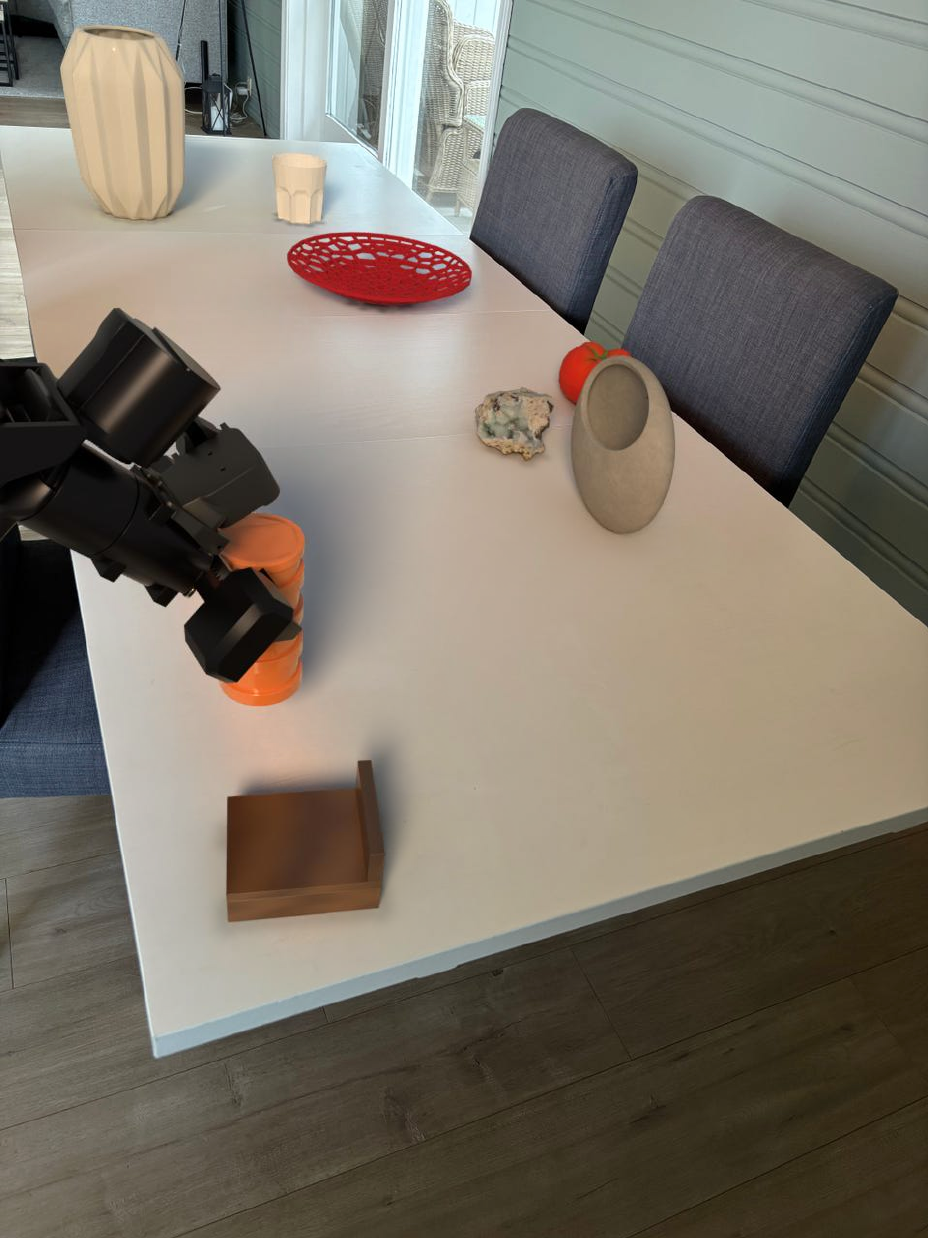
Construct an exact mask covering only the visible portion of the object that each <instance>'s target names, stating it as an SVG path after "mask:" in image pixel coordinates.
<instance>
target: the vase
mask: <svg viewBox="0 0 928 1238" xmlns="http://www.w3.org/2000/svg"><path fill="white" fill-rule="evenodd" d="M59 69H60V70H59V71H60V77H61V83H62V89H63V95H64V96H63V97H64V102H65V108H66V112H67V117H68V122H69V127H70V132H71V137H72V142H73V147H74V148H73V149H74V152H75V157H76V161H77V166H78V169H79V175H80V179H81V181H82V183H83V184H84V186H85V187H86V188H87V190H88V191H89V193H90V194H91V196H92V197H93V199H94V200H95V201H96V203H97V205H98V206H99V207H100V208H101V209H102V211H103V212H104V213H105V214H109V215H113V216H114V217H115V218H119V219H127V220H131V221H138V220H139V221H141V220H144V221H153V220H156V219H162V218H166V217H167V216H168V214H172V213H173V211H174V208H175V207H176V205H177V202H178V200H179V197H180V195H181V193H182V191H183V185H184V183H185V176H186V167H185V166H186V96H185V77H184V73H183V71H182V69H181V67H180V65H179V63H178V61H177V59H176V58H175V56H174V54H173V52H172V51H171V49H170V47H169V45H168V43H167V42H166V40H165V39H164V38H163V37H162V36H161V35H160V34H159V33H158V32H153V31H149V30H146V29H144V28H137V27H135V28H134V27H129V26H126V25H111V24H97V25H92V24H86V25H82V26H78V27H75V28H74V29H73V31H72V33H71V36H70V39H69V41H68V44H67V47H66V49H65V52H64V55H63V57H62V60H61V64H60V67H59Z"/></svg>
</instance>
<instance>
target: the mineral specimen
mask: <svg viewBox="0 0 928 1238" xmlns="http://www.w3.org/2000/svg"><path fill="white" fill-rule="evenodd" d="M555 407H556V403H555V398H554V396H552V395H550V394H547V393H538V392H536V391H533V390H531V389H529V388H527V387H523V386H521V387H520V388H517V389H511V390H498V391H495V392H491V393H488V394H486V395H485V397H484V400H483V403H480V404H479V405H478V406H477V407H476V408H475V409H474V413H475V414H476V415H475V417H474V420H475V421H476V429H477V430H476V433H477V435H478V437H479V438H480V441H481V442H482V443H483V444H484V445H486V446H487V447H493V448H494V449H497V450H499V452H501V453H502V454H503V455H507V454H512V453H513V452H516V453H521V454H522V457H523V459H524V461H530V459H532V457H533V456H534V455H535V454H541V453H544V451H545V450H546V445H545V443H544V442H543V439H542V438H543V433H544V432H545V431H546V430H547V429H548V428H550V426H551V419H550V416H551V414H552V412H553V411H554V408H555Z"/></svg>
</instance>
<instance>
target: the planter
mask: <svg viewBox="0 0 928 1238" xmlns="http://www.w3.org/2000/svg"><path fill="white" fill-rule="evenodd" d="M574 409H575V410H574V412H573V418H572V423H571V436H570V457H571V465H572V471H573V475H574V480H575V483H576V486H577V489H578V493H579V495H580V496H581V499H582V501H583V503H584V505H585V507H586V509H587V510H588V511H589V513H590V515H592V517H593V518H594V519H595V520H596V521H597V522H598V523H599V524H600V525H601V526H603V527H604V528H605V529H608V530H609V531H610V532H614V533H618V534H623V535H625V534H633V533H636V532H639V531H641V530H642V529H644V528H646V527H647V526H648V525H650V524H651V523H652V521H653V520H654V519H655V518H656V517H657V515H658V514H659V512H660V510H661V509H662V507H663V505H664V502H665V501H666V499H667V496H668V493H669V490H670V486H671V484H672V479H673V473H674V468H675V458H676V436H675V435H676V433H675V423H674V418H673V414H672V409H671V406H670V402H669V399H668V397H667V394H666V392H665V390H664V388H663V386H662V384H661V381H660V380H659V379H658V378H657V376H656V375H655V374H654V372H653V371H652V370H651V369H650V368H649V367H648V366H647V365H646V364H644V363H643V362H642V361H640V360H639V359H636V358H635V357H632V356H631V357H629V356H624V355H616V356H611V357H608V358H606V359H604V360H603V361H601V362H600V363H598V364H597V365H596V366H595V367H594V368H593V369H592V371H591V372H590V374H589V375H588V377H587V379H586V381H585V383H584V385H583V387H582V390H581V393H580V395H579V398H578V402H577V404H576V406H575V408H574Z"/></svg>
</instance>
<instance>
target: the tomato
mask: <svg viewBox="0 0 928 1238" xmlns="http://www.w3.org/2000/svg"><path fill="white" fill-rule="evenodd" d="M616 355H624V356H629V357H632V355H631V354H630V352H628V351H627V350H626V349H624V348H623V349H622V348H614V349H610V350H609V349H607V350H606V348H604V347H603V346H602V345H601V344H600V343H598V342H595V341H585V342H583V343H582V342H581V344H580V345H579V346H575V347H574V348H572V349H570V350H569V351H568V352H567V353H566V355H565V356H564V358H563V359H562V361H561V364H560V367H559V372H558V384H559V388H560V391H561V392H562V394H563V396H565V397H566V398H567V399H569V400H570V402H571V401H572V402H573V403H575V404H576V405H577V402H578V398H579V395H580V393H581V390H582V387H583V385H584V383H585V381H586V379H587V377H588V375H589V374H590V372H591V371H592V369H593V368H594V367H595V366H596V365H597V364H598V363H600V362H601V361H603V360H604V359H606V358H608V357H611V356H616Z"/></svg>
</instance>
